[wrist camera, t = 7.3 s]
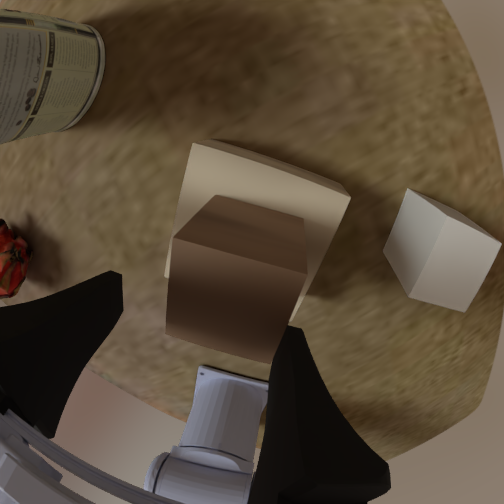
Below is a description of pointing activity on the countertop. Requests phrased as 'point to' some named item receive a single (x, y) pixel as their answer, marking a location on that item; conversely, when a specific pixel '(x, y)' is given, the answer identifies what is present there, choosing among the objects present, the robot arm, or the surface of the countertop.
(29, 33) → the coffee can
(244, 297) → the walnut block
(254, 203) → the birch base block
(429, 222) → the off-white block
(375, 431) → the countertop surface
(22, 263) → the dragon fruit
